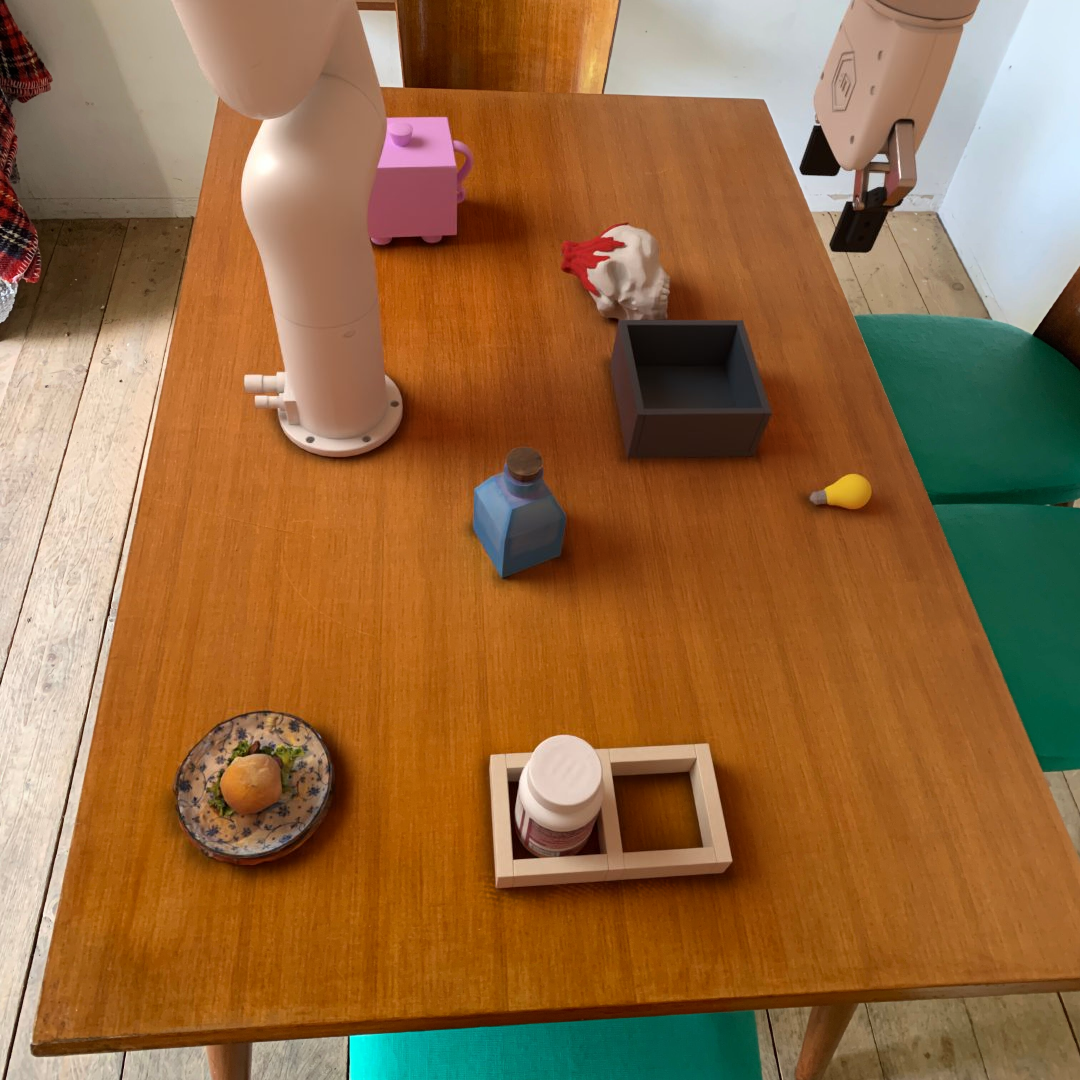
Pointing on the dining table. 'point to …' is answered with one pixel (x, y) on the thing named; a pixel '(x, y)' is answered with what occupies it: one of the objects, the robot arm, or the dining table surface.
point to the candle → (621, 272)
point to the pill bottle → (559, 797)
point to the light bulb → (845, 492)
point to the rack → (615, 822)
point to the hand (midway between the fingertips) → (832, 210)
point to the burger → (254, 787)
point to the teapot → (417, 181)
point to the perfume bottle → (518, 515)
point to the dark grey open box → (688, 389)
